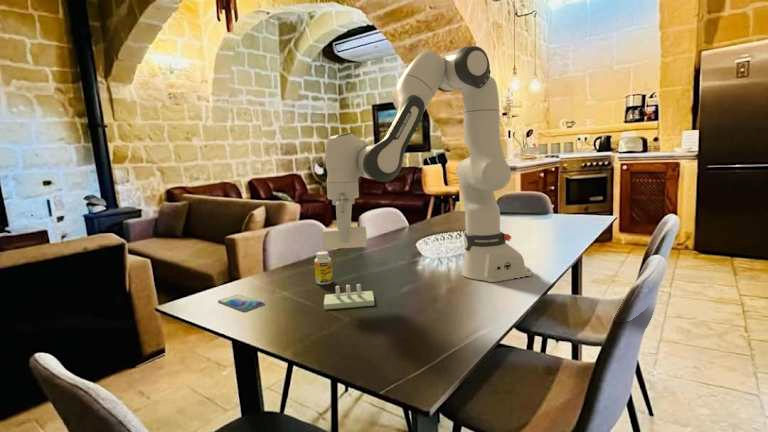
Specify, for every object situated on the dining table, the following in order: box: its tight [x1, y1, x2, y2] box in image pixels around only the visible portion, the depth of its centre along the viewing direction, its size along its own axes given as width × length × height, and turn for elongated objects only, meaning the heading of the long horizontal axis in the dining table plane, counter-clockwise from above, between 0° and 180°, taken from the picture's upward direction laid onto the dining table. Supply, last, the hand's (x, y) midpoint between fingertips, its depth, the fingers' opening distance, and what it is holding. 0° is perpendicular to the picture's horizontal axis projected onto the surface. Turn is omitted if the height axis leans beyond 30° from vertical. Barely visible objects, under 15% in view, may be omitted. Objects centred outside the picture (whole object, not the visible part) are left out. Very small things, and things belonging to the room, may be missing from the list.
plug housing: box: [322, 225, 368, 250], centre depth 121 cm, size 12×5×5 cm, turn 94°
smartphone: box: [217, 294, 266, 313], centre depth 126 cm, size 7×1×15 cm
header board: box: [323, 283, 375, 311], centre depth 121 cm, size 14×8×5 cm, turn 95°
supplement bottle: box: [313, 250, 333, 286], centre depth 141 cm, size 6×6×10 cm
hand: (345, 240), depth 121 cm, fingers closed on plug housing, 5 cm apart
